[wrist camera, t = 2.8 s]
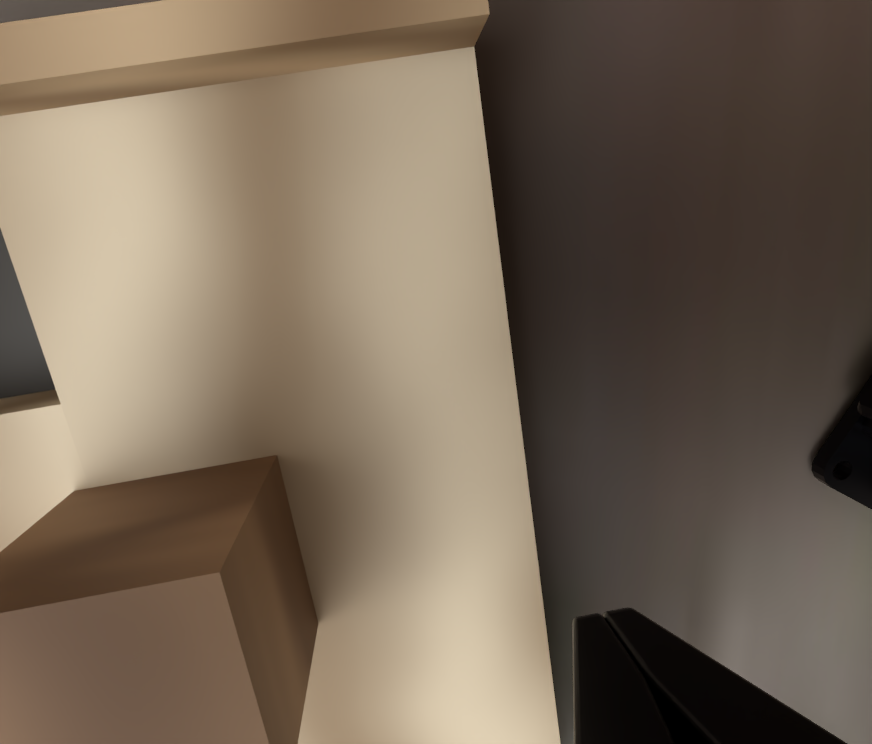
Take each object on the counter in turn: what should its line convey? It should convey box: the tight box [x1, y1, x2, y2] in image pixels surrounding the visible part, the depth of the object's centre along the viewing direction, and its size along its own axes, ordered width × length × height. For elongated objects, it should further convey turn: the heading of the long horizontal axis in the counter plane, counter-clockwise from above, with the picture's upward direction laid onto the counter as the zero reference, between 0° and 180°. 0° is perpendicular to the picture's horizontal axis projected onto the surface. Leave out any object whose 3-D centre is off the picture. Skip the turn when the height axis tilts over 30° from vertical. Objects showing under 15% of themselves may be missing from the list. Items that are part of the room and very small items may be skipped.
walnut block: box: [0, 455, 318, 744], centre depth 10 cm, size 4×4×4 cm
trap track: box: [0, 0, 561, 744], centre depth 11 cm, size 16×19×4 cm
